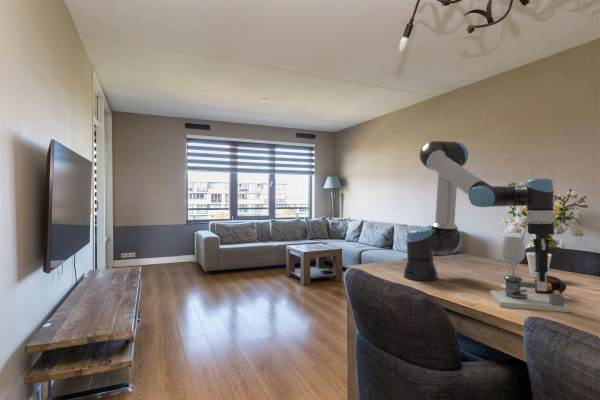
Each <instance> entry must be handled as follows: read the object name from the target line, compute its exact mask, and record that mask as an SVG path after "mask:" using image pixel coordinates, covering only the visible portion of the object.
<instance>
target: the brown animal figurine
mask: <svg viewBox="0 0 600 400" xmlns="http://www.w3.org/2000/svg"><path fill="white" fill-rule="evenodd" d="M533 282H534V283H537V278H535V280H534V281H533ZM547 283H550V284H551V285H552V290H547V291H538V290H537V288H534V293H538V294H553V291H555V290H558V291H559V292H560V294H561V295H562V293H564V292H565V291H566V289H567V284H566V283H565V282H563V281H561V278H559V277H556V276H552V275H549V274H548V275H547Z"/></svg>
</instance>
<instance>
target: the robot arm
mask: <svg viewBox="0 0 600 400" xmlns="http://www.w3.org/2000/svg"><path fill="white" fill-rule="evenodd" d="M419 159H420V161H421V163H422V165H423V166H424V167H426V168H427V169H428V170H431V171H435V172H436V173H437V189H436V204H435V206H436V207H435V222H434V223H432V224H431V227H430V226H427V227H426V226H425V227H415V228H411V229H409V230H408V231H407V234H406V235H407V236H406V243H407V245H406V247H407V248H406V250H407V261H406V264H405V267H404V270H403V278H405V279H408V280H413V281H422V282H425V281H426V282H428V281H435V280H438V274H439V273H438V272H437V271H438V270H437V269H436V265H435V262H434V255H441V254H447V255H448V254H451V253H452V254H453V253H456V252H457V251H459V250H460V249H461V247H462V245H463V236H462V234H461V232H460V230H458V226H457V224H456V221H455V220H456V208H457V206H456V204H457V193H458V191H457V189H459V190H460V191H462V192H463V193H465V194H466V195H468V200H469V201H470V204H472V205H473V206H474V207H479V208H480V207H481V208H489V207H491V208H493V207H520V206H521V207H523V206H524V207H526V221H527V222H528V223H527V233H528V234H530V235H535V238H533V239H532V240H533V244H534V245H533V247H534V249H533V250H534V252H535V261H536V266H535V267H536V270H535V272H537V278H536V279H537V288H536V289H537V290H538V291H547V271H548V254H549V248H550V246H549V243H550V242H549V241H550V240H549V239H547V235H548V236H550V235H555V224H554V223H553V222H555V221H554V220H555V218H554V217H556V216H557V214H556V213H555V212H554V210H555V209H554V192H555V191H554V185H553V183H554V182H553V180H552V179H551V178H531V179H527V181H526V184H525V185H504V186H503V185H502V186H501V185H499V186H498V185H497V186H496V185H495V186H493V185H490V184H489V183H487V182H486V181H484V180H483V179H481V178H480V177H478V176H477V175H476V174H474V173H472V172H470V171H469V170H468V169H467V168H465V167H463V166H465V165H466V163H467V162H468V159H469V152H468V148H467V147H466V146H465V145H464V143H462V142H458V141H445V140H444V141H443V140H442V141H440V140H432V141H429V142H427V143H425V144H424V145H423V146H422V148H421V149H420V151H419ZM548 272H549V271H548Z"/></svg>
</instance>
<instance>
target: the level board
mask: <svg viewBox="0 0 600 400" xmlns="http://www.w3.org/2000/svg"><path fill="white" fill-rule="evenodd" d="M524 293H525V294H527V298H526V299H517V298H512V297H508V296H506V290H505V291H504V290H490V292H489V294H490V296H491V297H492V298H493V300H494V301H495V302H496V303H497V305H498V306H499V307H500V308H501V307H502V308H511V309H512V308H513V309H524V310H525V309H526V310H534V311H535V310H537V311H539V310H540V311H549V312H550V311H551V312H561V313H562V312H563V313H571V306H569V305H568V304H566V303H565V296H564V295H563V294H562V293H561V294H560V292H559V291H558V290H555V291H553V294H538V293H535V292H524Z"/></svg>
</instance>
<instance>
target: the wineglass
mask: <svg viewBox="0 0 600 400" xmlns="http://www.w3.org/2000/svg"><path fill="white" fill-rule="evenodd" d="M525 255H526V248H525V242H524V239H523V237H522V236H521V237H520V236H504V237H503V239H502V242H501V256H502V258H503V259H504V260H505V262H507V263H508V264H510V267H511V276H516V274H515V273H516V271H515V270H516V266H517V264H519V263H521V262H522V261H523V260H524V259H525ZM501 288H502V289H505V290H506V283H504V284H502V285H501ZM526 290H527V288H526V287H520V292H524V291H526Z"/></svg>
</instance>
